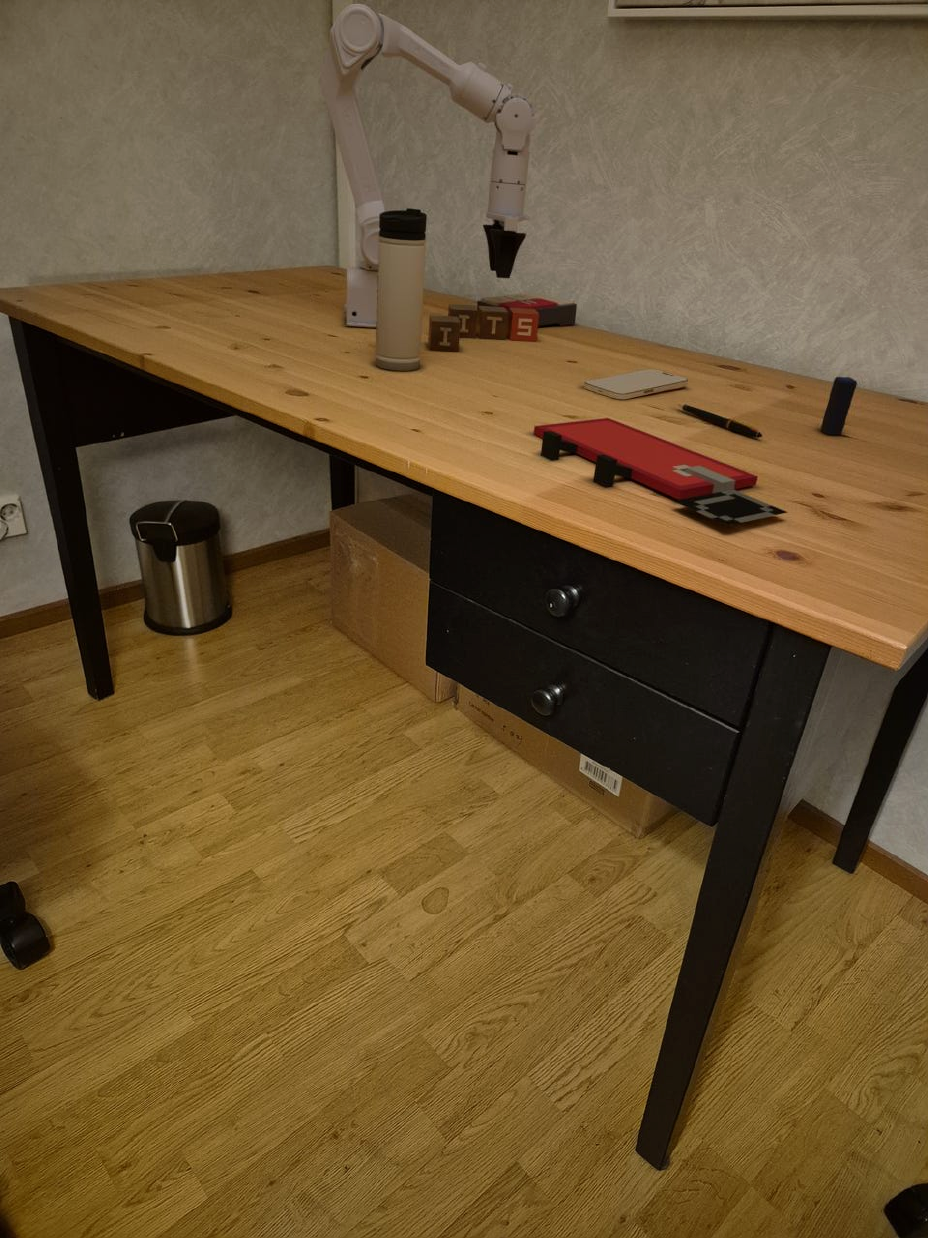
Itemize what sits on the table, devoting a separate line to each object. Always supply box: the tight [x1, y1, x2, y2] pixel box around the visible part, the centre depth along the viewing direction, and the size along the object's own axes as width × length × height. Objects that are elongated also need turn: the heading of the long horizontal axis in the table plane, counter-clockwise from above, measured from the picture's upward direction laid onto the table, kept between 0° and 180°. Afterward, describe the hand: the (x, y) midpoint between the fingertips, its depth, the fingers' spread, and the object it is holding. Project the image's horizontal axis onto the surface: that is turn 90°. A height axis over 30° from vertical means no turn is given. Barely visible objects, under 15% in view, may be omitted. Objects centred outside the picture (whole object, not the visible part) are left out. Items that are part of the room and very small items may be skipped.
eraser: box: [820, 376, 858, 437], centre depth 106 cm, size 2×2×7 cm
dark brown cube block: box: [447, 303, 478, 339], centre depth 143 cm, size 4×4×4 cm
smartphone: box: [583, 368, 689, 400], centre depth 120 cm, size 7×1×15 cm
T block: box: [476, 306, 508, 341], centre depth 143 cm, size 4×4×4 cm
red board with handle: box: [533, 417, 789, 527], centre depth 89 cm, size 30×3×15 cm
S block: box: [506, 308, 539, 342], centre depth 144 cm, size 4×4×4 cm
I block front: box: [427, 314, 461, 353], centre depth 133 cm, size 4×4×4 cm
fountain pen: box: [676, 403, 763, 439], centre depth 107 cm, size 14×1×2 cm, turn 33°
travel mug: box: [374, 207, 428, 372], centre depth 117 cm, size 6×7×20 cm
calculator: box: [476, 292, 578, 327], centre depth 157 cm, size 11×4×15 cm
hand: (499, 274), depth 143 cm, fingers open, 7 cm apart
